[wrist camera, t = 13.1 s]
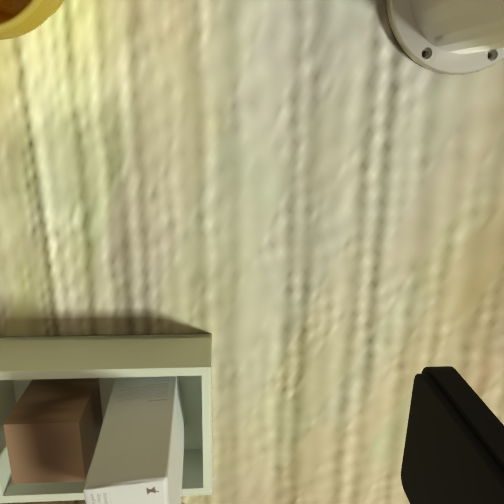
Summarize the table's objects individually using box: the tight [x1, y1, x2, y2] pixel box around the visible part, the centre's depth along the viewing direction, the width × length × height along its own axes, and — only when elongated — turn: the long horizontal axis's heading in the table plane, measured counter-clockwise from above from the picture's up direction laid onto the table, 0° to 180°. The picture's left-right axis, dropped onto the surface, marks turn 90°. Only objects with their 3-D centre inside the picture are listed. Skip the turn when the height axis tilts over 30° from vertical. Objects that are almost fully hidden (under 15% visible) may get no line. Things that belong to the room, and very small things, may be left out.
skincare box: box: [83, 376, 185, 504], centre depth 40 cm, size 8×6×15 cm
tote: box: [0, 334, 212, 503], centre depth 45 cm, size 20×14×6 cm
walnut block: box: [3, 378, 103, 484], centre depth 44 cm, size 6×6×7 cm
